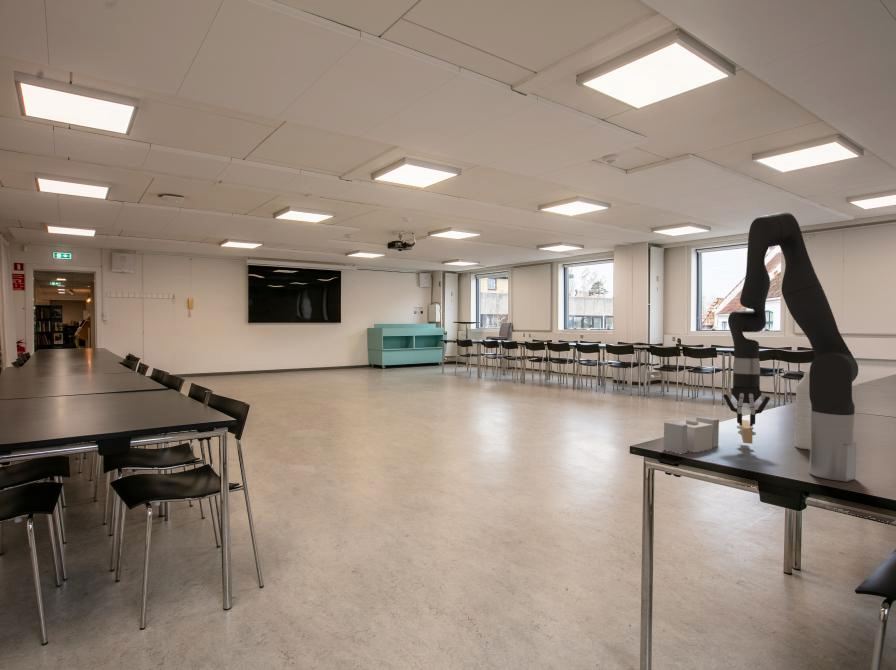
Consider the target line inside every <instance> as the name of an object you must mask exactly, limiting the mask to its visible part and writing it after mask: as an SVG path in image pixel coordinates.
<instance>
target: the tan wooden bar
mask: <svg viewBox="0 0 896 670" xmlns="http://www.w3.org/2000/svg"><path fill="white" fill-rule="evenodd" d="M736 429H738V431H737V433H738V434H740V436H741V440H742V443H743V444H753V436H756V435H757V434H756V432H755V431H753V430H754V426H750V420H747V419H742V425H739V424H738V425H736Z"/></svg>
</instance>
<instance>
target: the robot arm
mask: <svg viewBox="0 0 896 670" xmlns="http://www.w3.org/2000/svg"><path fill="white" fill-rule="evenodd" d="M777 246H779V247H780V248H779V249H781V253H782V255H783V258H784V262H785V263H784V264H785V266H784V267H785V268H784V272H783V277H782V282H781V294H782V297H783V300H784V302H785V304H786V307H787V309H788V312H789V313H790V315H791V317H792V318H793V320H794V321H795V323H796V325H797V326H798V327H799V328H800V329H801V331H802V332H803V334H804V335H805V337H806V338H807V339H808V341H809V344H810V345H811V348H812V350H813V354H814V359H813V360H812V361H811V362H810V363H811V364H810V367H809V372H808V373H809V397H810V401H811V437H810V450H809V470H808V471H809V474H810V475H812V476H814V477H817V478H821V479H826V480H830V481H831V480H832V481H840V482H845V483H846V482H847V483H848V482H850V481H853V480H855V479H856V474H857V473H856V471H857V470H856V469H857V445H858V444H857V442H855V441H854V439H855V437H854V436H855V410H856V409H855V407H856V406H855V403H854V402H853V400H854V399H853V382H854V381H855V380H856V379H857V377H858V374H859V364H858V363H857V360H856V359H855V357H854V355H853V353H852V352H851V351H850V349H849V347H848V346H847V344H846V342H845V340H844V338H843V335H842V334H841V333H840V331H839V328H838V325H837V322H836V319H835V317H834V313H833V311H832V308H831V305H830V302H829V300H828V298H827V296H826V293H825V290H824V289H823V286H822V284H821V282H820V280H819V278H818V275H817V274H816V272H815V268H814V266H813V264H812V261H811V259H810V255H809V253H808V250H807V248H806V247H807V246H806V243H805V241H804V235H803V234H802V231H801V227H800V224H799V222H798V220H797V218H796V217H795V216H794V215H793V214H792V213H790V212H787V211H783V212H776V213H772V214H765V215H762V216H758V217H756V218H754V220H752V222H751V224H750V227H749V231H748V236H747V252H746V267H745V268H746V271H745V277H744V282H743V286H742V290H741V293H740V298H739V304H740V305H741V307H744V308H746V309H750V310H733V311H731V312H730V313H729V316H728V319H727V322H728V323H727V325H728V328H729V330H730V331H729V332H730V333H731V337H732V338H731V339H732V341H733V347H734V348H733V351H734V352H733V364H732V388H731V390H730V392H727V393H723V394H722V395H723V398H724V400H725V402H726V404H727V405H728V407H729V409H730V411H731V412H733V413H735V414H736V422H737V424H738V425H742V420H743V413H742V409H743V404H748V405H749V409H750V414H749V423H750V426H752V427H754V426H753V425H756V415H757V414H762V413H763V411H764V409H765V407H766V406H767V405H768V404H769V401H770V400H771V398H770V396H769V395H765V394H764V393H762V391H761V364H760V343H759V341H757V340H755V339H750V338H746V337H745V335H744V333H759V332H762V331H763V330H764V329H765V327H766V325H767V318H766V317H767V316H766V301H767V297H768V294H769V292H770V291H769V290H770V286H771V277H770V275H769V272H768V270H767V266H766V260H765V259H766V255H767V252H768V250H769V248H772V247H777ZM732 396H733V397H732ZM760 397H761V398H760ZM732 398H735V400H736V401H737V407H735V405H733V402H732V400H731V399H732ZM759 398H760V401H761V403H760V404H759V406H758V408H756V407H755V402H756V401H758V399H759Z"/></svg>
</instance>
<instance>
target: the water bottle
mask: <svg viewBox="0 0 896 670" xmlns="http://www.w3.org/2000/svg"><path fill="white" fill-rule="evenodd" d="M809 373H810V372H804V373H803V377H802V378H801V379H800V380H799V382H798V383H797V384H796V385H795V393H796V394H795V397H796V398H795V411H794V413H795V417H794V421H795V422H794V432H795V433H794V443H793V446H794V447H795V448H798V449H802V450H803V449H804V450H807V449H808V450H809V451H810V437H811V401H810V397H809Z"/></svg>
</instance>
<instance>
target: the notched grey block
mask: <svg viewBox="0 0 896 670" xmlns="http://www.w3.org/2000/svg"><path fill="white" fill-rule="evenodd" d="M695 418H696V420H694V419H692V420H691V419H686V420H683V421H677V422H674V421H664V423H663V450H668V451H672V452H677V453H681V454H682V453H688V452H687V451H690V452H689V453H691V452H694V453H693V454H696V453H695V452H697V453H701V452H700V451H702V452H705V450H706V451H710V449H711V450H713V447H714V448H717V446H718V447H719V437H720V436H719V435H720V434H719V432H720V431H719V430H720V428H719V427H720V419H718V418H712V417H707V416H697V417H695ZM668 451H667V452H668ZM672 452H671V453H672ZM682 455H683V454H682Z"/></svg>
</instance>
